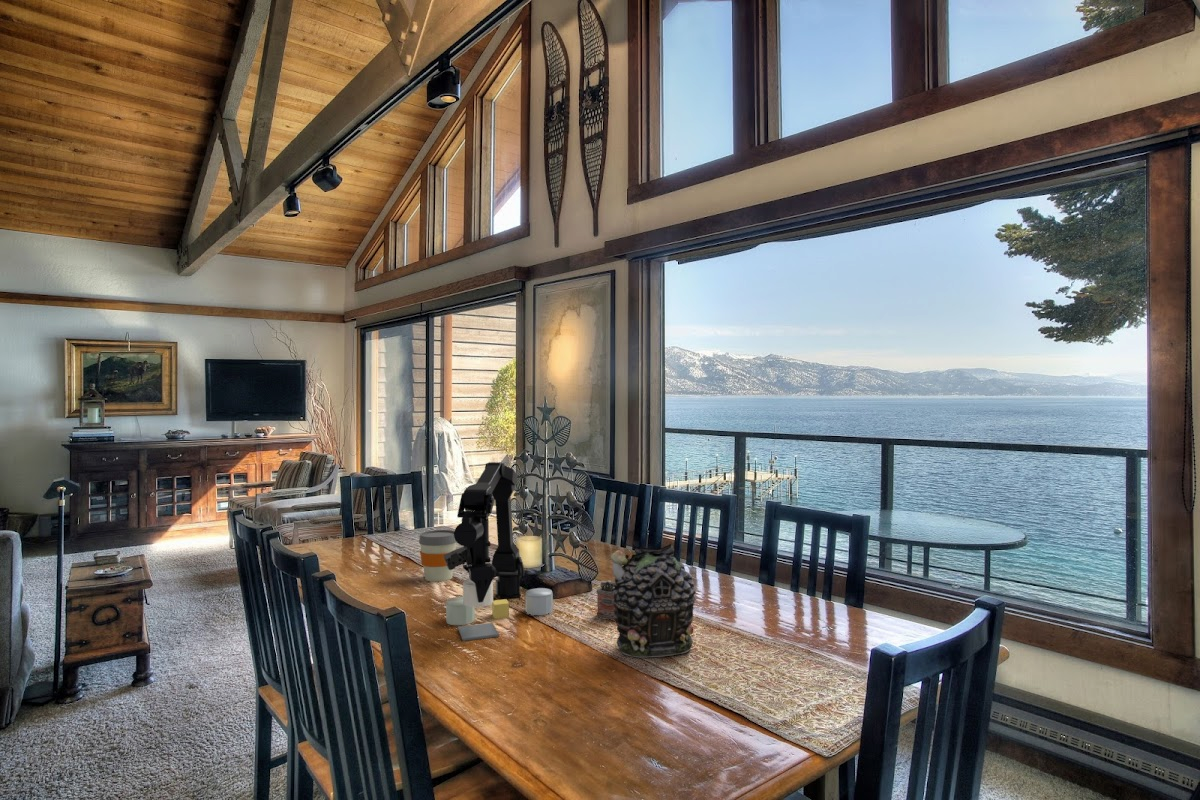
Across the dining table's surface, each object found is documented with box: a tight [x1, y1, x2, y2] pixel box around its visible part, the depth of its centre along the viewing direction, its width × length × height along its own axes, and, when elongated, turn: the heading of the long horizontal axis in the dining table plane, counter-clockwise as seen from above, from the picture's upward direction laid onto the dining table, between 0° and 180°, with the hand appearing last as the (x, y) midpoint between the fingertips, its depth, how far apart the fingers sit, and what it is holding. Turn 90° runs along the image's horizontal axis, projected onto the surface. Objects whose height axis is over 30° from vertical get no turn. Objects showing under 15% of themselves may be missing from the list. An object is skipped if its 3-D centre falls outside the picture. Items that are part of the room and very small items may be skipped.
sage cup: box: [445, 595, 476, 626], centre depth 180 cm, size 7×7×6 cm
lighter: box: [596, 579, 615, 621], centre depth 181 cm, size 8×3×10 cm, turn 62°
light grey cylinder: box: [525, 587, 554, 616], centre depth 187 cm, size 7×7×6 cm
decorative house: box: [610, 544, 697, 659], centre depth 158 cm, size 21×15×25 cm
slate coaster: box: [457, 622, 500, 642], centre depth 170 cm, size 9×9×1 cm
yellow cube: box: [491, 598, 510, 620], centre depth 183 cm, size 4×4×4 cm
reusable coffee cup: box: [418, 529, 457, 583], centre depth 223 cm, size 13×13×15 cm
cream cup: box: [462, 578, 494, 608], centre depth 170 cm, size 7×7×6 cm
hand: (478, 597), depth 170 cm, fingers closed on cream cup, 7 cm apart
